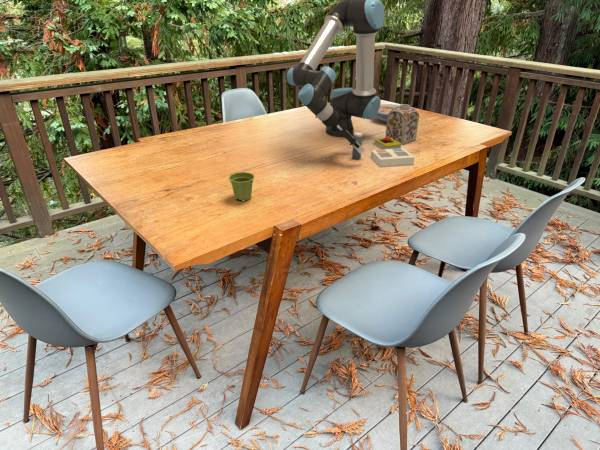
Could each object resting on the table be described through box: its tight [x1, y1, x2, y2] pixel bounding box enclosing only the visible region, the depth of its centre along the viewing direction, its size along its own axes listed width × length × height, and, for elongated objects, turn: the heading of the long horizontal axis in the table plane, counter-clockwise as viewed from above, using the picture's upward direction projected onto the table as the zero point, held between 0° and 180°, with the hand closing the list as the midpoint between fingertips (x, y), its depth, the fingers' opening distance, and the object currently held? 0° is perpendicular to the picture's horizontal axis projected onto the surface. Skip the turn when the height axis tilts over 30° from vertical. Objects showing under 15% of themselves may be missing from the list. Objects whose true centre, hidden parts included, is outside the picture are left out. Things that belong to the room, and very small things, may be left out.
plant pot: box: [228, 171, 256, 201], centre depth 154 cm, size 9×9×9 cm
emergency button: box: [372, 137, 402, 149], centre depth 205 cm, size 9×4×15 cm
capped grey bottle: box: [351, 131, 364, 161], centre depth 189 cm, size 4×4×12 cm
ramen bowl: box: [375, 103, 402, 124], centre depth 242 cm, size 25×23×8 cm
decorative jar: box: [384, 103, 420, 146], centre depth 211 cm, size 12×12×18 cm
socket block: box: [370, 147, 416, 168], centre depth 189 cm, size 12×16×4 cm
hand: (357, 146), depth 189 cm, fingers open, 13 cm apart
